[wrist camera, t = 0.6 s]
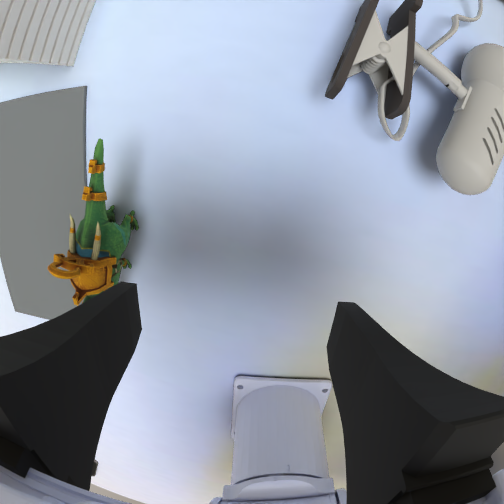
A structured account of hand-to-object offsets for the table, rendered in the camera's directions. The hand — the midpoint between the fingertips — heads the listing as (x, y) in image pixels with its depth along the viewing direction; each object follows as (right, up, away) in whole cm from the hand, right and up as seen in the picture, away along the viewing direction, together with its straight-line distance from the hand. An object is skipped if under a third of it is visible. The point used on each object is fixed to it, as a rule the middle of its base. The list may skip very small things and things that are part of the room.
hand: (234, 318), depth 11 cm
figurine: (-8, +4, +9) cm, 13 cm away
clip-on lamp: (+13, +16, +3) cm, 21 cm away
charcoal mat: (-15, +5, +9) cm, 18 cm away
